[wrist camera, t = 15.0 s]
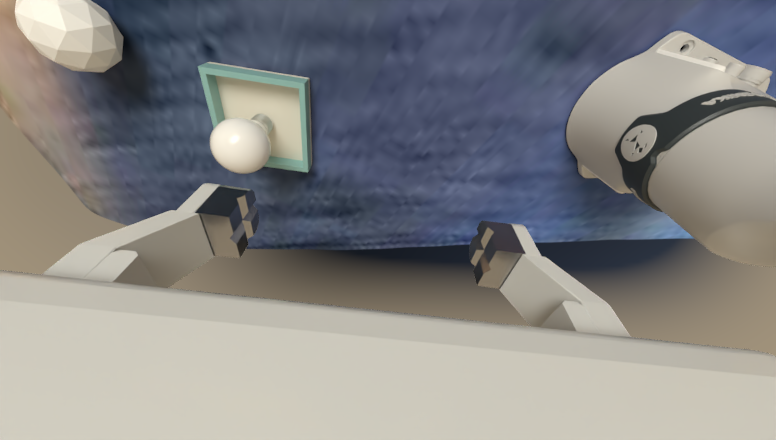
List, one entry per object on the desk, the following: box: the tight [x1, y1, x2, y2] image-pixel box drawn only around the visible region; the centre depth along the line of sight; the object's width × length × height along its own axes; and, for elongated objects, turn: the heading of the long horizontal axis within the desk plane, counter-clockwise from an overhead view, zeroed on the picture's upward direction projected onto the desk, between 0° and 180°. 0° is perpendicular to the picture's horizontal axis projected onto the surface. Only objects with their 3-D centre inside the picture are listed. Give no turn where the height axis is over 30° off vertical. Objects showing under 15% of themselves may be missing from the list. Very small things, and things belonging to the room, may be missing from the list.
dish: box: [198, 62, 312, 172], centre depth 39 cm, size 12×12×3 cm
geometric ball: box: [15, 0, 123, 72], centre depth 30 cm, size 8×8×8 cm
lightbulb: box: [210, 114, 273, 174], centre depth 35 cm, size 6×6×11 cm
